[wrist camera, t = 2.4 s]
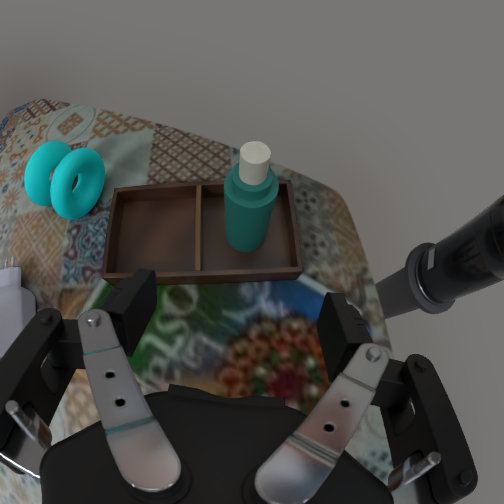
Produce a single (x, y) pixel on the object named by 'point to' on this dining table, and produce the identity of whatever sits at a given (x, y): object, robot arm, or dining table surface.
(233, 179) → the bottle
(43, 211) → the dining table surface
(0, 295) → the charger
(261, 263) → the tray
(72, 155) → the donuts
